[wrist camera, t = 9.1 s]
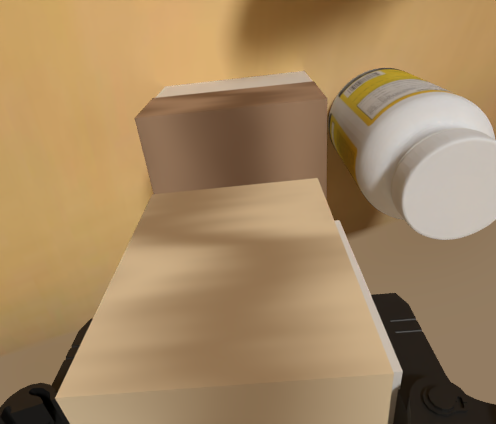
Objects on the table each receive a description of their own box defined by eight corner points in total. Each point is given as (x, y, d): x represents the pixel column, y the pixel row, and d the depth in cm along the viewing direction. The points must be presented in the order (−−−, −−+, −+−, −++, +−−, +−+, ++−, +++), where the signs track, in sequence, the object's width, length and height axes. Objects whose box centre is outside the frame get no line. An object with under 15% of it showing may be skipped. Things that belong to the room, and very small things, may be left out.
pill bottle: (369, 177, 28) (441, 281, 18) (306, 122, 26) (345, 204, 16) (443, 108, 25) (575, 183, 15) (379, 42, 23) (483, 77, 13)
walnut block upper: (182, 232, 26) (172, 269, 22) (152, 98, 21) (134, 118, 18) (315, 220, 25) (326, 256, 22) (313, 81, 21) (327, 98, 17)
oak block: (183, 314, 17) (138, 542, 10) (152, 194, 14) (55, 398, 7) (320, 303, 16) (373, 529, 9) (317, 177, 13) (393, 373, 6)
